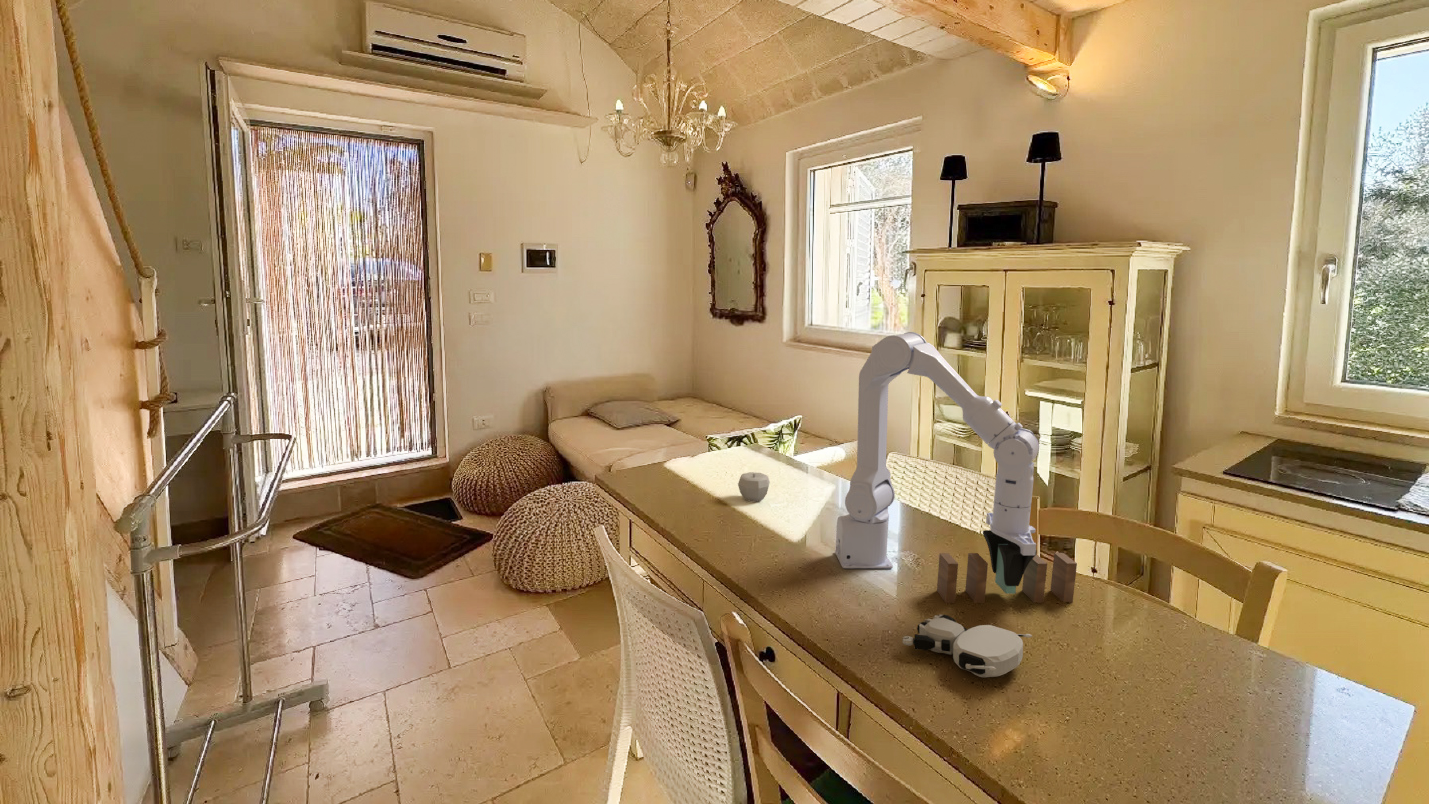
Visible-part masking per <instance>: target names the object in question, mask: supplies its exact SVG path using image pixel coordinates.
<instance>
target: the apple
mask: <svg viewBox="0 0 1429 804" xmlns="http://www.w3.org/2000/svg"><path fill="white" fill-rule="evenodd" d="M737 486H738V490H739V492H740V494H741V496H742V498H743V499H745V501H748V502H754V503H755V502H756V503H757V502H762V501H763V499H765V497H766V495H767V494H768V491H769V487H770V478H769V476H768V475H767V474H764V473H761V472H755V471H753V472H745V473H742V474H741V475H740V477H739V480H738V483H737Z"/></svg>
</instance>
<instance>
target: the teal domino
mask: <svg viewBox="0 0 1429 804" xmlns="http://www.w3.org/2000/svg"><path fill="white" fill-rule="evenodd" d="M998 545H1008V544H998ZM994 579H995V580H994V582H995V584H996V585H997V586H998V587H999V588H1000V589H1001V590H1002V591H1003V592H1004V593H1005V594H1008V595H1009V594H1010V595H1011V594H1013V595H1014V594H1016V591H1017V586H1006V585H1005V581H1004V565H1003V559H1002V555H1001V552H1000V550H999V547H998V554H997V565H996V573H995V578H994Z"/></svg>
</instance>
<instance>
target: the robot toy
mask: <svg viewBox="0 0 1429 804" xmlns="http://www.w3.org/2000/svg"><path fill="white" fill-rule="evenodd" d="M916 628H917V629H916V630H917V633H918V634H916V633H915V634H914V635H913V637H912V636H910V635H904V636H903V637H902V644H903V645H904V646H908V647H909V646H913V649H914V650H920V651H929V650H930V651H931V652H935V653H937V654H941V653H942V654H946V655H950V656H952V658H953V662H954V663H955V664H956V665H957V666H958V667H959V668H960V669H962V670H965V671H968V672H971V673H972V674H973V675H975V676H977V677H979V678H983V679H984V678H994V677H995V678H996V677H997V678H998V677H1000V676H1002V675H1005V674H1007V673H1008V672H1011V671H1012V670H1014V669H1016V668H1017V667H1019V666H1020V664H1021V661H1022V660H1023V655H1024V653H1023V652H1024V642H1023V639H1022V638H1024V637H1025V638H1031V637H1033V635H1032V634H1031V633H1026V634H1022V633H1016V632H1015V631H1011V630H1008V629H1005V628H1002V627H997V626H994V625H991V624H984V625H983V624H982V625H981V624H980V625H976V626H974V627H971V628H968V629H967V628H966V627H964V626H962V624H960V623H958V622H956V620H955V619H954V618H953V617H952V616H949V615H948V614H937V615H934V616H933V618H927V619H926V618H925V619H924V621H921V622H919V624H918V625H917V627H916Z"/></svg>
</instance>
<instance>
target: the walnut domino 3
mask: <svg viewBox="0 0 1429 804" xmlns="http://www.w3.org/2000/svg"><path fill="white" fill-rule="evenodd" d="M1047 570H1048V562H1047V561H1045V560H1044V559H1043V558H1041V556H1039V555H1038V554H1037V553H1036V555H1035V556H1034V557H1033V559H1032V560H1031V561H1030V562H1029V564H1028V566H1027V567H1026V569H1025V571H1024V574H1023V576H1022V579H1023V580H1022V589H1021V591H1022V593H1024V594H1025V595H1026V596H1027V598H1029V599H1030V600H1031V601H1032V602H1033V603H1034V604H1035V603H1036V602H1037V603H1039V604H1040V603H1041V604H1042V603H1043V604H1044V598H1045V590H1046V589H1045V588H1046V581H1047ZM1037 603H1036V604H1037Z"/></svg>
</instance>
